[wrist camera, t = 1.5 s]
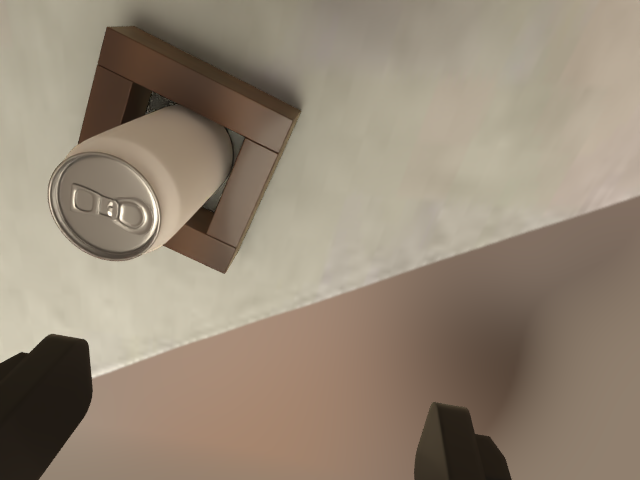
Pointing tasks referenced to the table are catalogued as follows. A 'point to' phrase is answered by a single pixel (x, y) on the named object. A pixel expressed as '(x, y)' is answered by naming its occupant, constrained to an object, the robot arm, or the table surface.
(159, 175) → the can
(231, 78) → the can stand
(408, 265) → the table surface
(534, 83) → the table surface
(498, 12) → the table surface
